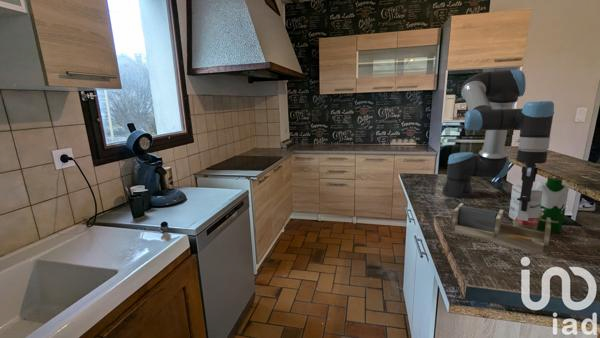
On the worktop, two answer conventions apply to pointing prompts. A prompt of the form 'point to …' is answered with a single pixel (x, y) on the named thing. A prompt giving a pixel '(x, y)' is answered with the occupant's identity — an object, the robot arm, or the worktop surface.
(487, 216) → the rack
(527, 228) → the flower pot
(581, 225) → the worktop surface
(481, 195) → the worktop surface
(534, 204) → the ink box
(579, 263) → the worktop surface
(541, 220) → the milk carton
